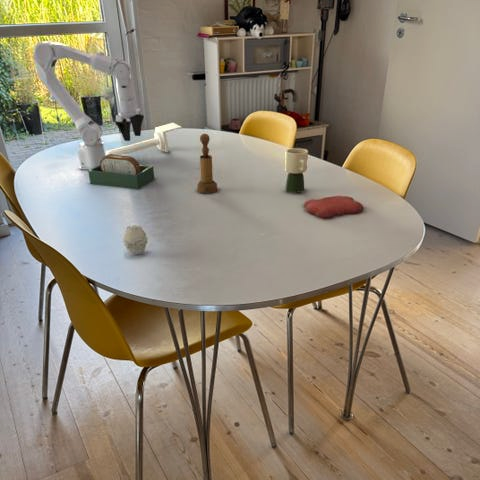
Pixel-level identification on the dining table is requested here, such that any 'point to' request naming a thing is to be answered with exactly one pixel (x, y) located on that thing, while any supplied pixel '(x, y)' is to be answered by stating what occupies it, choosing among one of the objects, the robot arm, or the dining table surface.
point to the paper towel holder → (149, 141)
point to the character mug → (295, 168)
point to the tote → (122, 177)
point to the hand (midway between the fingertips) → (132, 138)
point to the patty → (333, 206)
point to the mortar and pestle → (206, 169)
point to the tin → (120, 164)
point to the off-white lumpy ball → (135, 239)
